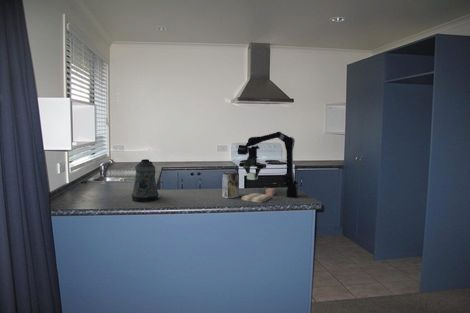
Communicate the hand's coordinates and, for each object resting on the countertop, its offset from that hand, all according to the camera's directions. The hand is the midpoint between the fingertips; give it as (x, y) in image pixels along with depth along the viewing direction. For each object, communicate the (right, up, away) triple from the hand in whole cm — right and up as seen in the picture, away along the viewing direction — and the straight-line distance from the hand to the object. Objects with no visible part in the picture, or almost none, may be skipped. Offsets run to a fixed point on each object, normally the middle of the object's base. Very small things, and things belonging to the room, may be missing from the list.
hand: (252, 177), depth 234 cm
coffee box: (-15, -12, -12) cm, 23 cm away
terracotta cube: (+12, -12, -3) cm, 17 cm away
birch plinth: (+2, -13, -17) cm, 21 cm away
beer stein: (-69, -12, -19) cm, 73 cm away
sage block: (0, -1, 0) cm, 1 cm away
